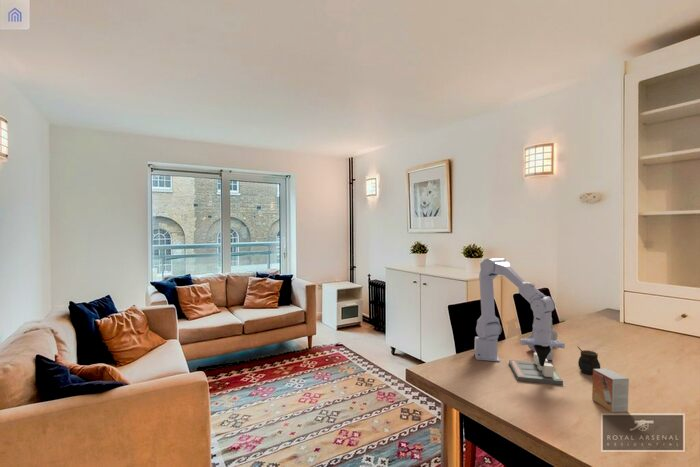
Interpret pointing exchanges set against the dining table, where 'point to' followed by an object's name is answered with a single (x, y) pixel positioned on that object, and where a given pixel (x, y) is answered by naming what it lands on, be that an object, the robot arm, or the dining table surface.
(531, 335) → the headphones
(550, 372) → the block
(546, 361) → the handle
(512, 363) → the breaker panel
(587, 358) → the mate gourd
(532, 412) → the dining table surface
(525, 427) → the dining table surface
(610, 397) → the small box
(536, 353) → the handle
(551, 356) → the supplement box
